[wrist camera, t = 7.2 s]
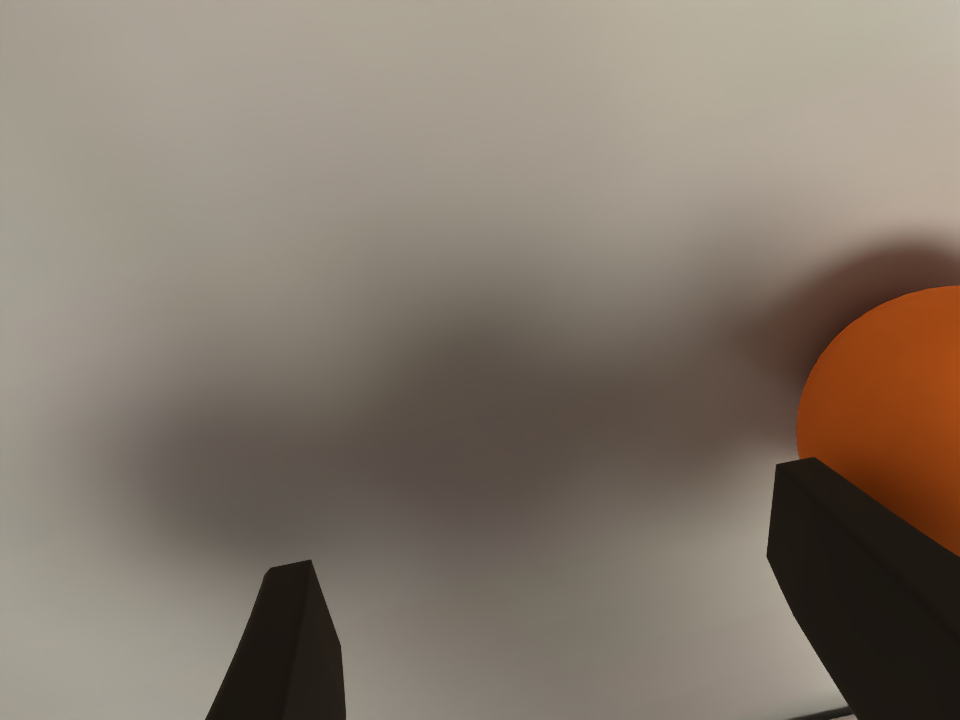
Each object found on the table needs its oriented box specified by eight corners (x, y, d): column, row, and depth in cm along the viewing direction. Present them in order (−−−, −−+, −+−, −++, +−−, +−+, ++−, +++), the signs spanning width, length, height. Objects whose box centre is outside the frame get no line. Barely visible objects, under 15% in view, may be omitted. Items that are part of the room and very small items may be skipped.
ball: (820, 423, 18) (1097, 490, 16) (751, 590, 15) (1089, 707, 12) (850, 215, 15) (1196, 256, 13) (773, 364, 12) (1219, 460, 9)
